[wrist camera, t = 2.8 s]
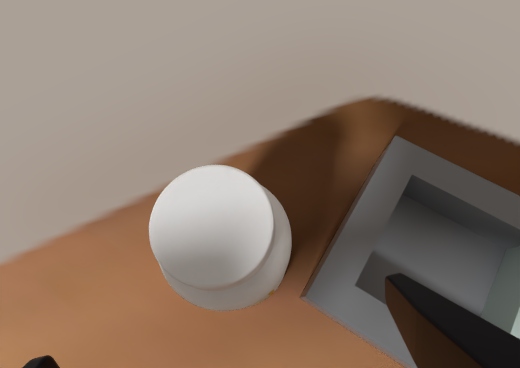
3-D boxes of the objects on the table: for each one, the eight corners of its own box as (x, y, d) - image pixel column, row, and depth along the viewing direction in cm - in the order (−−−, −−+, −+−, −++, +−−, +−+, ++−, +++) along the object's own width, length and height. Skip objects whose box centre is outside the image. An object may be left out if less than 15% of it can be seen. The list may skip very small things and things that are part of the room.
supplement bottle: (233, 199, 20) (198, 117, 11) (303, 248, 19) (330, 199, 10) (178, 270, 19) (88, 242, 10) (251, 328, 18) (226, 357, 8)
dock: (473, 412, 16) (525, 441, 12) (299, 297, 18) (304, 297, 15) (533, 242, 18) (589, 230, 15) (376, 161, 21) (395, 135, 17)
